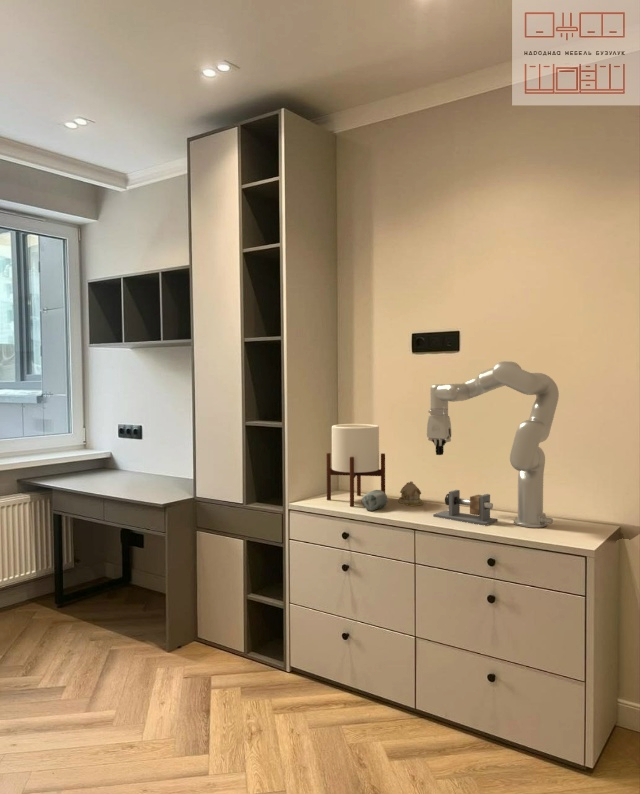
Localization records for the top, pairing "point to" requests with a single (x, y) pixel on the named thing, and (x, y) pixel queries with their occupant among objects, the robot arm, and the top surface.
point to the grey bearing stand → (456, 515)
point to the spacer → (474, 505)
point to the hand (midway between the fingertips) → (439, 454)
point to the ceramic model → (410, 495)
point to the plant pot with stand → (355, 455)
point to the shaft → (466, 502)
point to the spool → (374, 500)
